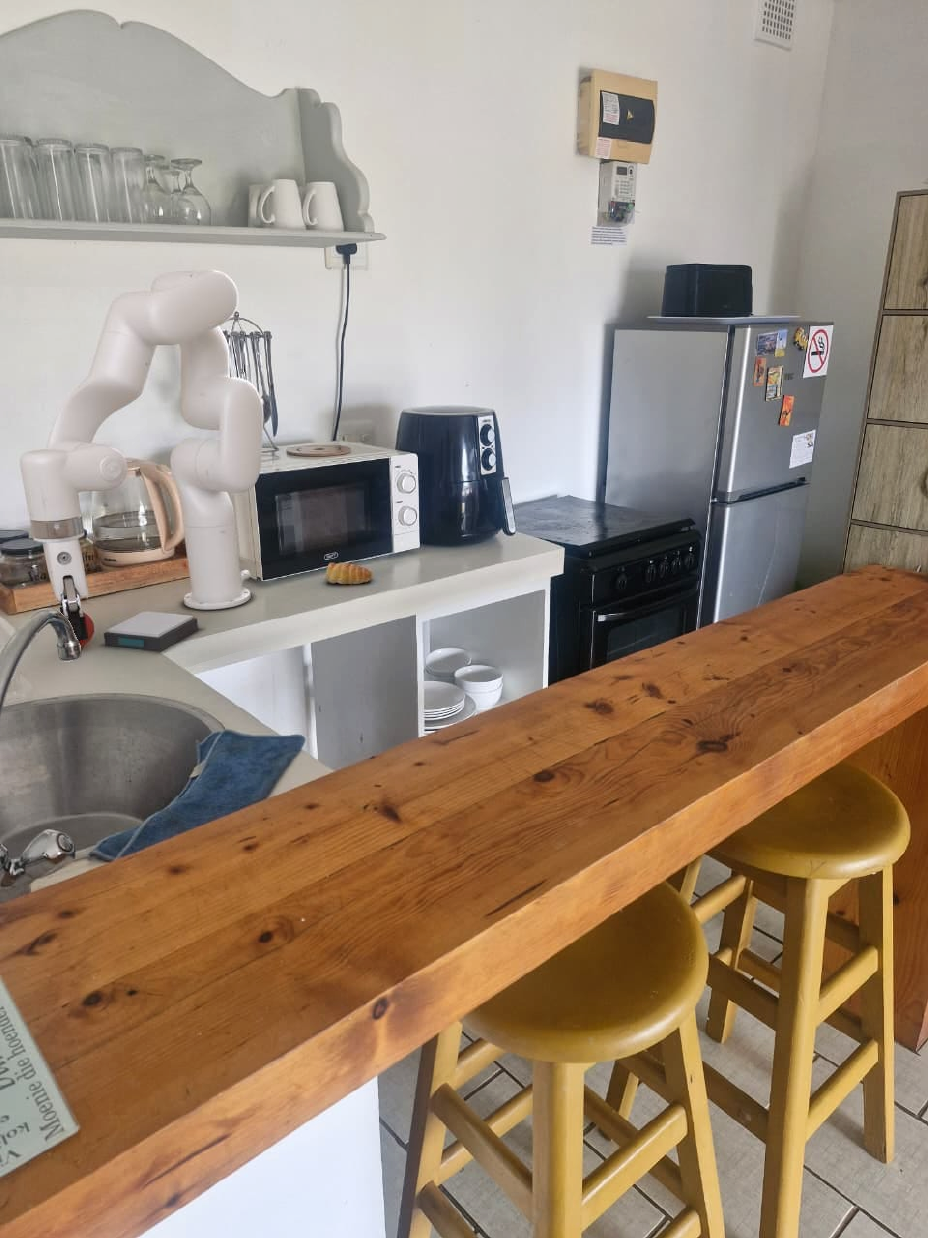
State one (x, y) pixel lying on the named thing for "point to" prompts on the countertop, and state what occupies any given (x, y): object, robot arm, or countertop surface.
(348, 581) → the pastry
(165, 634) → the scale
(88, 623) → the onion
